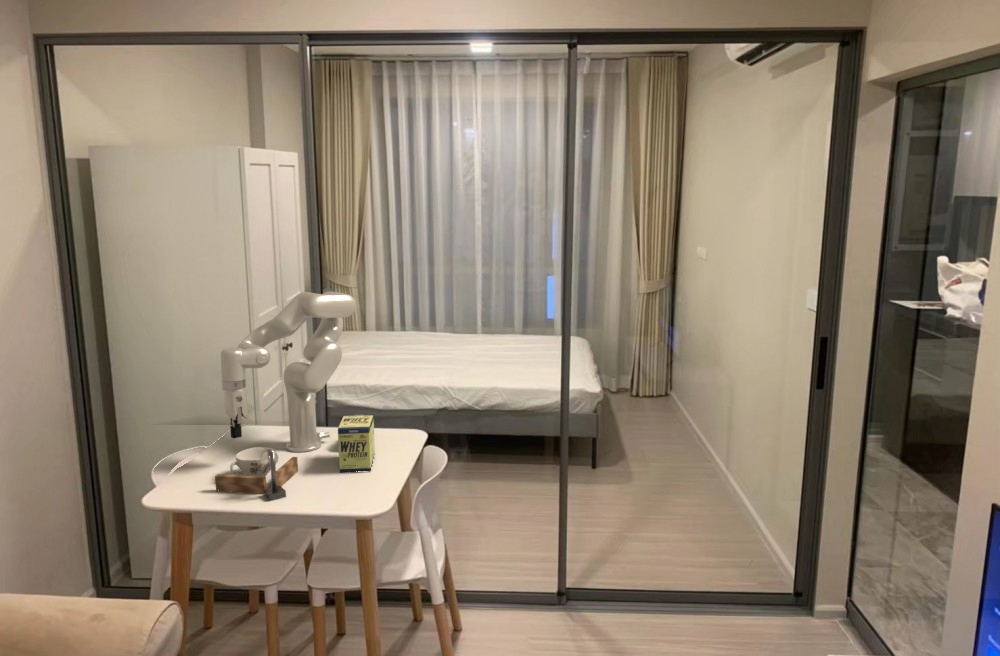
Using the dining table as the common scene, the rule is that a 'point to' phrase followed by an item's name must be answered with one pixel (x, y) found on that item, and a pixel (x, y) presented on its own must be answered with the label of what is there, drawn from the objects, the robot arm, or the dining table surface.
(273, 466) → the dial stand
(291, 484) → the dining table surface
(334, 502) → the dining table surface
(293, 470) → the v block
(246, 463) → the teacup
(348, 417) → the protein box
